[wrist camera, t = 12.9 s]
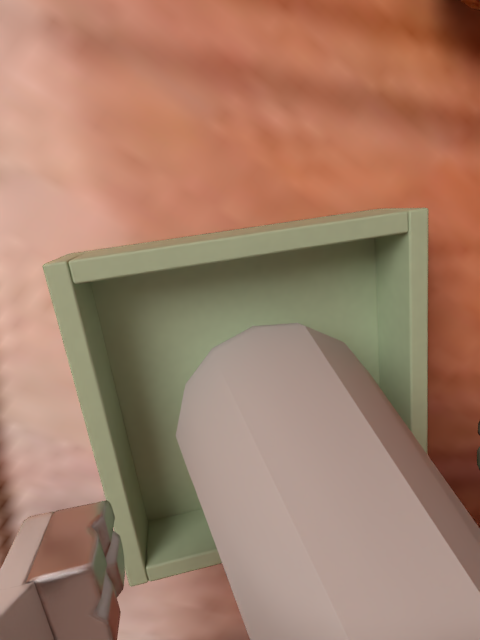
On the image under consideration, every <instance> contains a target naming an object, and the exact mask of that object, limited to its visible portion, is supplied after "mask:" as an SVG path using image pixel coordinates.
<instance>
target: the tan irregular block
mask: <svg viewBox="0 0 480 640" xmlns="http://www.w3.org/2000/svg"><path fill="white" fill-rule="evenodd" d="M460 1H462V2H463V3H464V4H466V5H467V6H469V7H470V8H472V9H479V10H480V0H460Z"/></svg>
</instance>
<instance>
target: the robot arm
mask: <svg viewBox="0 0 480 640" xmlns="http://www.w3.org/2000/svg"><path fill="white" fill-rule="evenodd" d="M478 434H479V435H480V421H479V423H478ZM477 465H478V467H479V470H480V447H479V448H478V450H477ZM114 520H115V515H114V512H113V509H112V505H111V503H110V502H109V501H108V500H107V501H102V502H97V503H92V504H87V505H82V506H77V507H72V508H67V509H62V510H57V511H56V512H49V513H44V514H39V515H35V516H30V517H28V518H27V519H26V520H24V522H23V523H22V525H21V527H20V529H19V531H18V534H17V536H16V538H15V540H14V542H13V544H12V546H11V548H10V550H9V553H8V555H7V557H6V559H5V561H4V563H3V565H2V567H1V569H0V640H117V636H118V628H119V620H120V608H119V604H118V601H117V597H118V595H119V594H120V593H121V591H122V590H123V586H124V577H125V565H124V552H123V546H122V542H121V538H120V535H119V534H117V533H116V532H114V531H113V526H114Z"/></svg>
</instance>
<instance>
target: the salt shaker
mask: <svg viewBox="0 0 480 640" xmlns="http://www.w3.org/2000/svg"><path fill="white" fill-rule="evenodd" d="M176 438H177V441H178V444H179V447H180V450H181V452H182V455H183V458H184V461H185V464H186V467H187V469H188V472H189V475H190V477H191V480H192V482H193V485H194V487H195V490H196V493H197V496H198V498H199V501H200V504H201V507H202V509H203V512H204V515H205V518H206V520H207V523H208V526H209V528H210V531H211V534H212V537H213V539H214V542H215V545H216V548H217V550H218V553H219V556H220V558H221V561H222V564H223V567H224V569H225V572H226V575H227V578H228V580H229V583H230V586H231V589H232V591H233V594H234V597H235V599H236V602H237V605H238V608H239V610H240V613H241V616H242V619H243V621H244V624H245V627H246V629H247V632H248V635H249V638H250V640H480V528H479V527H478V525H477V524H476V523H475V521H474V520H473V518H472V517H471V516H470V514H469V513H468V511H467V510H466V509H465V507H464V506H463V504H462V503H461V501H460V500H459V499H458V497H457V496H456V494H455V493H454V492H453V490H452V489H451V487H450V486H449V485H448V483H447V482H446V480H445V479H444V477H443V476H442V475H441V473H440V472H439V470H438V469H437V468H436V466H435V465H434V463H433V462H432V461H431V459H430V458H429V456H428V455H427V454H426V452H425V451H424V449H423V448H422V446H421V445H420V444H419V442H418V441H417V439H416V438H415V437H414V435H413V434H412V432H411V431H410V430H409V428H408V427H407V425H406V424H405V422H404V421H403V420H402V418H401V417H400V415H399V414H398V413H397V411H396V410H395V408H394V407H393V406H392V404H391V403H390V401H389V400H388V399H387V397H386V396H385V394H384V393H383V391H382V390H381V389H380V387H379V386H378V384H377V383H376V382H375V380H374V379H373V377H372V376H371V375H370V373H369V372H368V371H367V370H366V368H365V367H364V366H363V365H362V363H361V362H360V361H359V360H358V359H357V357H356V356H355V355H354V354H353V352H352V351H351V350H350V349H349V348H348V346H347V345H346V344H345V343H344V342H342V341H340V340H337V339H335V338H333V337H330V336H328V335H326V334H323V333H321V332H318V331H316V330H314V329H311V328H309V327H307V326H304V325H302V324H299V323H289V324H275V325H261V326H252V327H250V328H248V329H247V330H245V331H243V332H241V333H239V334H237V335H236V336H234V337H232V338H230V339H228V340H226V341H225V342H223V343H221V344H219V345H217V346H215V347H214V348H212V349H211V351H210V352H209V353H208V355H207V356H206V357H205V359H204V360H203V361H202V363H201V364H200V365H199V367H198V368H197V369H196V371H195V372H194V373H193V375H192V376H191V377H190V379H189V380H188V381H187V383H186V384H185V389H184V394H183V399H182V404H181V410H180V415H179V420H178V426H177V431H176Z"/></svg>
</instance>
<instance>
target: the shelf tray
mask: <svg viewBox="0 0 480 640" xmlns="http://www.w3.org/2000/svg"><path fill="white" fill-rule="evenodd" d="M43 270H44V273H45V277H46V281H47V284H48V288H49V292H50V295H51V299H52V303H53V306H54V310H55V314H56V317H57V321H58V325H59V329H60V332H61V336H62V340H63V343H64V347H65V351H66V354H67V358H68V362H69V365H70V369H71V373H72V376H73V380H74V384H75V387H76V391H77V395H78V398H79V402H80V406H81V409H82V413H83V417H84V420H85V424H86V428H87V431H88V435H89V439H90V442H91V446H92V450H93V453H94V457H95V461H96V464H97V468H98V472H99V475H100V479H101V483H102V486H103V490H104V494H105V497H106V501H107V500H108V501H109V502H110V503H111V505H112V509H113V512H114V515H115V520H114V526H113V527H114V530H115V532H116V533H117V534H119V535H120V538H121V542H122V546H123V552H124V565H125V571H126V574H127V578H128V582H129V585H130V586H135V585H139V584H143V583H147V582H148V580H149V581H154V580H158V579H162V578H166V577H170V576H174V575H178V574H181V573H185V572H189V571H193V570H197V569H201V568H205V567H209V566H213V565H217V564H220V563H222V561H221V558H220V556H219V553H218V550H217V548H216V545H215V542H214V539H213V537H212V534H211V531H210V528H209V526H208V523H207V520H206V518H205V515H204V512H203V509H202V507H201V504H200V501H199V498H198V496H197V493H196V490H195V487H194V485H193V482H192V480H191V477H190V475H189V472H188V469H187V467H186V464H185V461H184V458H183V455H182V452H181V450H180V447H179V444H178V441H177V438H176V431H177V426H178V420H179V415H180V410H181V404H182V399H183V394H184V389H185V384H186V383H187V381H188V380H189V379H190V377H191V376H192V375H193V373H194V372H195V371H196V369H197V368H198V367H199V365H200V364H201V363H202V361H203V360H204V359H205V357H206V356H207V355H208V353H209V352H210V351H211V349H212V348H214V347H215V346H217V345H219V344H221V343H223V342H225V341H226V340H228V339H230V338H232V337H234V336H236V335H237V334H239V333H241V332H243V331H245V330H247V329H248V328H250V327H252V326H261V325H275V324H289V323H299V324H302V325H304V326H307V327H309V328H311V329H314V330H316V331H318V332H321V333H323V334H326V335H328V336H330V337H333V338H335V339H337V340H340V341H342V342H344V343H345V344H346V345H347V346H348V348H349V349H350V350H351V351H352V352H353V354H354V355H355V356H356V357H357V359H358V360H359V361H360V362H361V363H362V365H363V366H364V367H365V368H366V370H367V371H368V372H369V373H370V375H371V376H372V377H373V379H374V380H375V382H376V383H377V384H378V386H379V387H380V389H381V390H382V391H383V393H384V394H385V396H386V397H387V399H388V400H389V401H390V403H391V404H392V406H393V407H394V408H395V410H396V411H397V413H398V414H399V415H400V417H401V418H402V420H403V421H404V422H405V424H406V425H407V427H408V428H409V430H410V431H411V432H412V434H413V435H414V437H415V438H416V439H417V441H418V442H419V444H420V445H421V446H422V448H423V449H424V451H425V452H426V454H427V428H428V209H427V208H389V209H374V210H367V211H360V212H353V213H347V214H340V215H333V216H326V217H319V218H312V219H305V220H298V221H291V222H285V223H278V224H271V225H264V226H257V227H250V228H243V229H236V230H229V231H223V232H216V233H209V234H202V235H195V236H188V237H181V238H174V239H167V240H161V241H154V242H147V243H140V244H133V245H126V246H119V247H112V248H106V249H99V250H92V251H85V252H78V253H71V254H67V255H65V256H63V257H60V258H58V259H55V260H53V261H51V262H48V263H46V264H44V265H43Z"/></svg>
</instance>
